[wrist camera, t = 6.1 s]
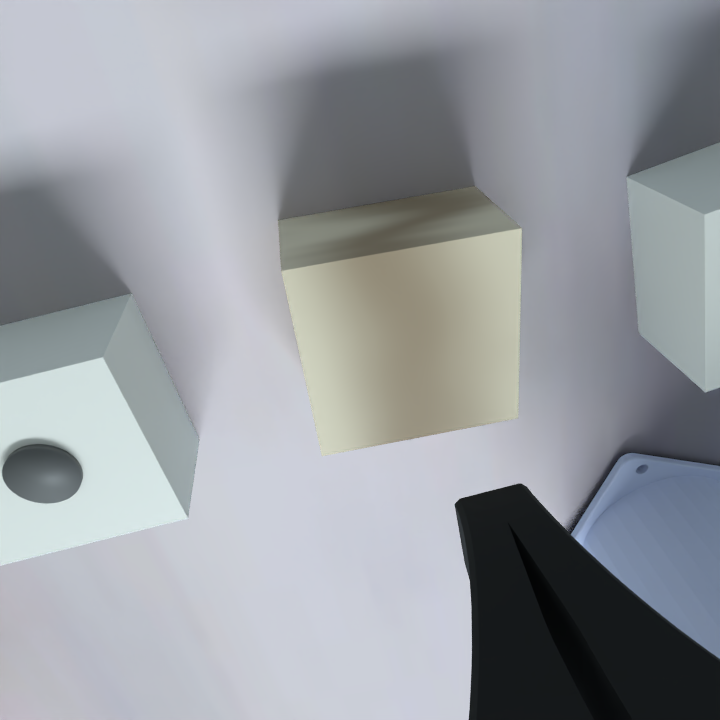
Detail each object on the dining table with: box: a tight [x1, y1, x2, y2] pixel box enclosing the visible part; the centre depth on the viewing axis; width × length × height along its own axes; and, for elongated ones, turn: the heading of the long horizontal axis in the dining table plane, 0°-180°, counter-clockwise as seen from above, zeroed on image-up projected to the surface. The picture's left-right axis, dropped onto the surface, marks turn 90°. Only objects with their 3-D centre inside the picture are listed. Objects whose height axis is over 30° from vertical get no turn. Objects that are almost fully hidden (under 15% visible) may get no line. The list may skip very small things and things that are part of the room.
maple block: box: [278, 186, 522, 456], centre depth 18 cm, size 6×6×4 cm
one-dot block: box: [0, 293, 199, 566], centre depth 18 cm, size 6×6×4 cm
